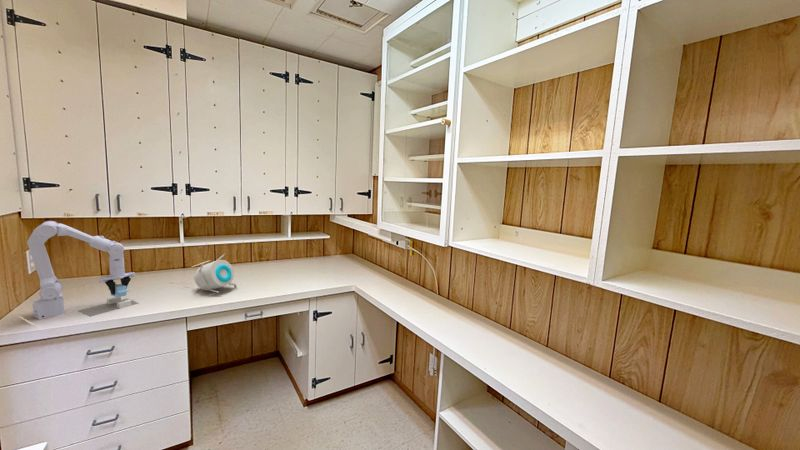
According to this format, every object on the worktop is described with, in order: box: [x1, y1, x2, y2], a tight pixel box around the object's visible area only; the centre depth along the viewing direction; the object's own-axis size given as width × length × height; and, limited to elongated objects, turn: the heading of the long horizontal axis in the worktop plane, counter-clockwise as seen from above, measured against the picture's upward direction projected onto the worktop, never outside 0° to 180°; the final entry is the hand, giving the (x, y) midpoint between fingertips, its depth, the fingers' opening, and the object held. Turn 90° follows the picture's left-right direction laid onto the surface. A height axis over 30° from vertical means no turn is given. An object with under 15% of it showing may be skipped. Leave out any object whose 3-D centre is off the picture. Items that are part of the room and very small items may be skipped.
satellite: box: [191, 253, 238, 296], centre depth 196 cm, size 23×20×25 cm
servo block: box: [107, 283, 129, 298], centre depth 166 cm, size 4×10×6 cm, turn 65°
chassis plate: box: [77, 296, 140, 317], centre depth 163 cm, size 20×12×4 cm, turn 155°
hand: (118, 292), depth 166 cm, fingers closed on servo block, 4 cm apart
